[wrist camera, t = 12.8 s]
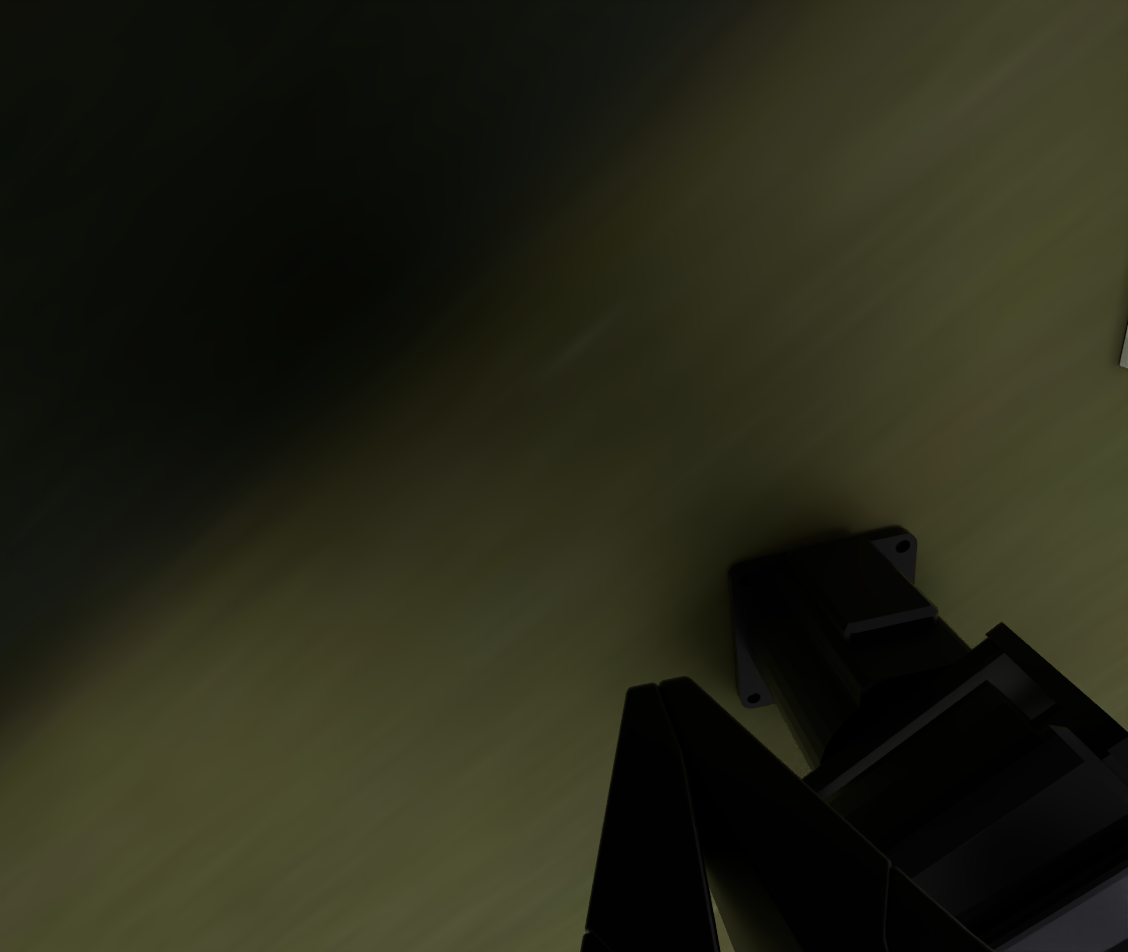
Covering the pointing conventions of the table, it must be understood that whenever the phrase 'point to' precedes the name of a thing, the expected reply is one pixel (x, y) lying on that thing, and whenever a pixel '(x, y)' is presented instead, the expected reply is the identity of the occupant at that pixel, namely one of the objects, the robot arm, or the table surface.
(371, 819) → the table surface
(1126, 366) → the mixer console
